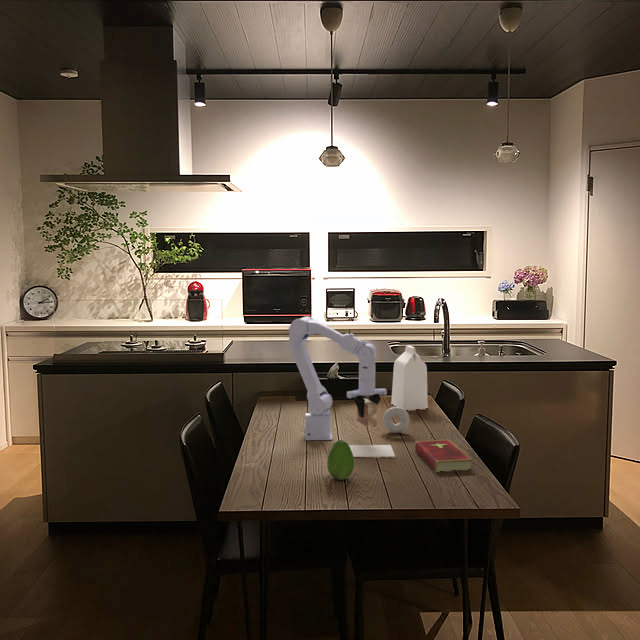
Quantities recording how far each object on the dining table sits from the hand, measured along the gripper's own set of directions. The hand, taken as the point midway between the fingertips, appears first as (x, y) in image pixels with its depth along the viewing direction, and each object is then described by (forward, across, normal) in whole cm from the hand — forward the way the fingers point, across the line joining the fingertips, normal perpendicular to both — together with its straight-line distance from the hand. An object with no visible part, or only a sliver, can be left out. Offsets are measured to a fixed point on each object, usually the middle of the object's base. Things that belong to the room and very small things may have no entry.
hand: (366, 416), depth 237 cm
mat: (+9, -4, -10) cm, 14 cm away
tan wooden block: (+3, 0, 0) cm, 3 cm away
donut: (+10, +15, +6) cm, 19 cm away
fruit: (+10, -22, -30) cm, 39 cm away
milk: (+10, +38, +39) cm, 56 cm away
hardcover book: (+10, +15, -26) cm, 32 cm away
